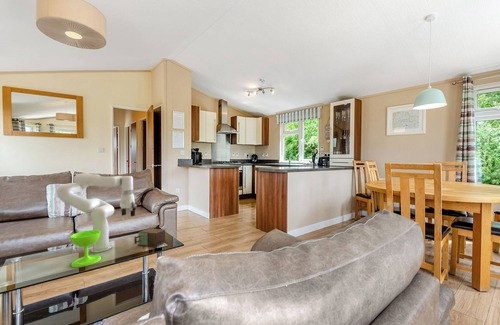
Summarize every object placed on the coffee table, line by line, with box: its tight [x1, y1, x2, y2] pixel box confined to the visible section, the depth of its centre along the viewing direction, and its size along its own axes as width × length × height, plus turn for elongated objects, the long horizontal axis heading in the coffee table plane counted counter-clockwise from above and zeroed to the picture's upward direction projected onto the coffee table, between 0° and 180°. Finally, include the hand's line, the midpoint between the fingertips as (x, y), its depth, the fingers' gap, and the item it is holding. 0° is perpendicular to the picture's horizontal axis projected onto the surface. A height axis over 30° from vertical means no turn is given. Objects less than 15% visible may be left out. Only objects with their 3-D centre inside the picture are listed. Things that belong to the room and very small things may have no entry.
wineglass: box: [69, 229, 102, 268], centre depth 146 cm, size 16×16×18 cm
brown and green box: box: [137, 227, 166, 249], centre depth 175 cm, size 16×12×10 cm
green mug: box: [133, 232, 148, 246], centre depth 169 cm, size 8×6×9 cm
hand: (128, 215), depth 167 cm, fingers open, 9 cm apart
